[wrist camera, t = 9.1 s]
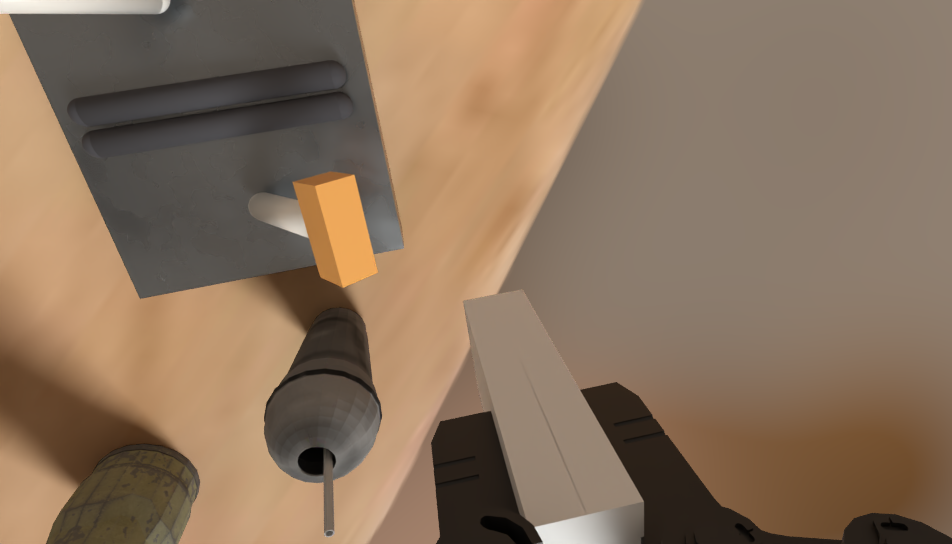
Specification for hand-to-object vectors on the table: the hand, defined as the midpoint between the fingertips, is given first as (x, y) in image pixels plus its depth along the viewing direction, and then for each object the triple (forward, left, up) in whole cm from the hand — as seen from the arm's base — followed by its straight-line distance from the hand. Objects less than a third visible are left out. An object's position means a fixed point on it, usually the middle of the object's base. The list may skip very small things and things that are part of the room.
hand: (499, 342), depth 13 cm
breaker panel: (-12, +6, -28) cm, 31 cm away
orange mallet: (-11, 0, -22) cm, 25 cm away
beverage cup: (-10, -13, -28) cm, 32 cm away
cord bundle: (-12, +6, -23) cm, 26 cm away
